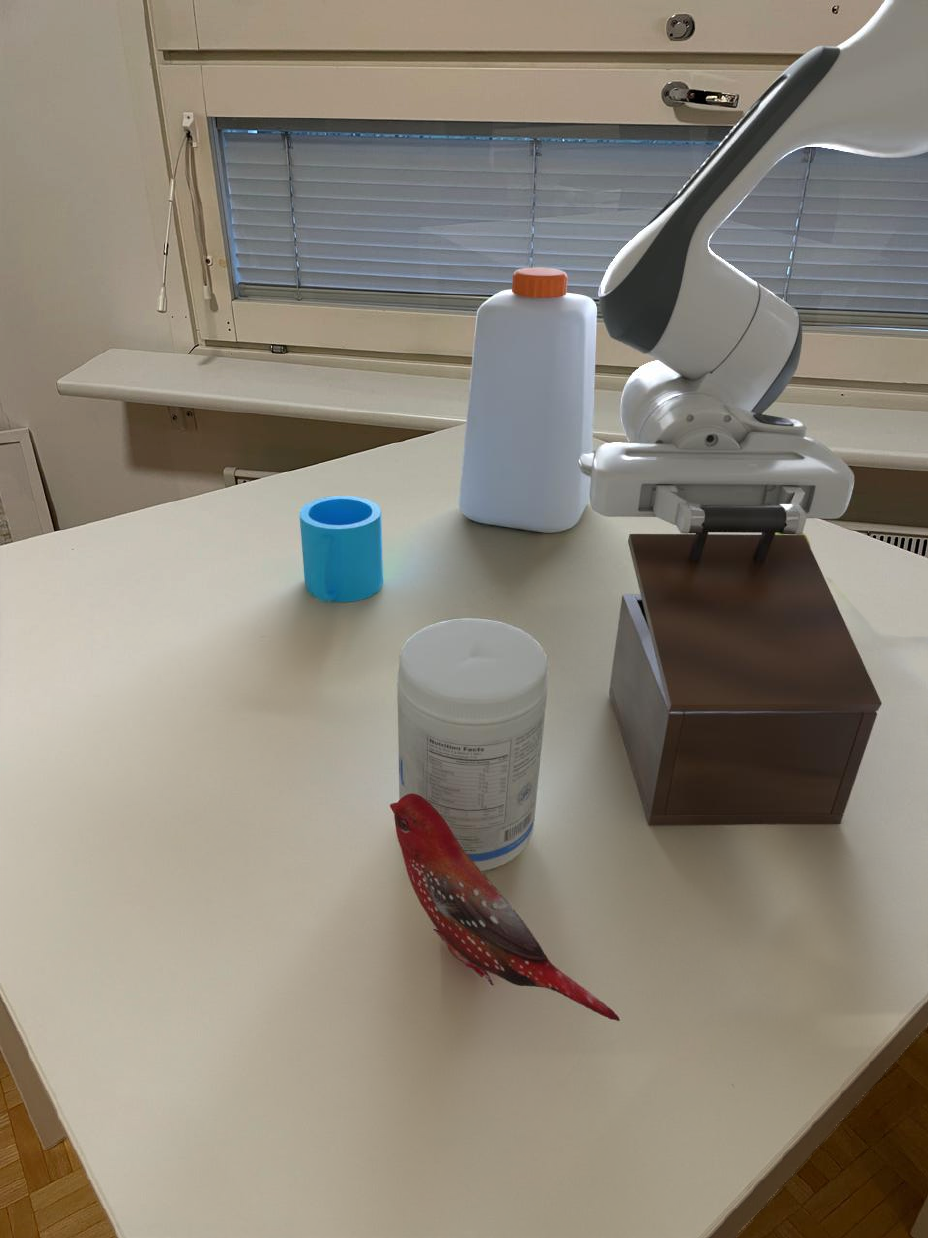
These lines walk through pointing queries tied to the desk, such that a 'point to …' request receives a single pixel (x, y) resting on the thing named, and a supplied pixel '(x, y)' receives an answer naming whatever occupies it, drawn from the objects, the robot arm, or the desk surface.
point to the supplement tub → (474, 731)
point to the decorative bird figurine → (474, 907)
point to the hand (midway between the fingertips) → (745, 525)
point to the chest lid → (746, 619)
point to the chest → (728, 749)
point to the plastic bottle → (530, 405)
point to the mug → (342, 548)
